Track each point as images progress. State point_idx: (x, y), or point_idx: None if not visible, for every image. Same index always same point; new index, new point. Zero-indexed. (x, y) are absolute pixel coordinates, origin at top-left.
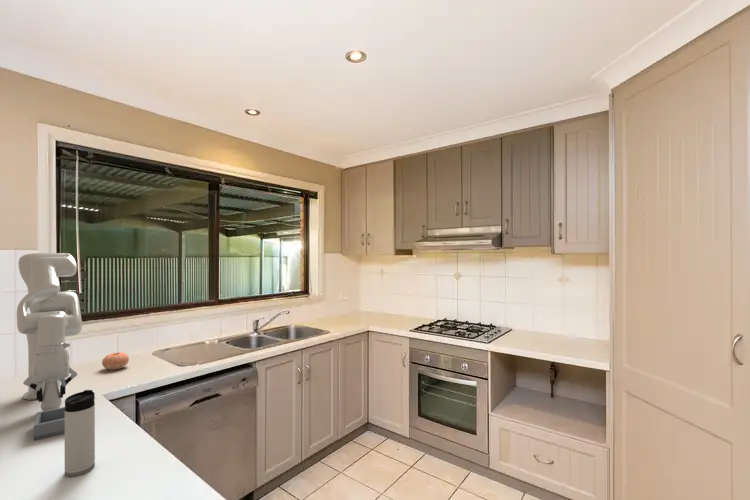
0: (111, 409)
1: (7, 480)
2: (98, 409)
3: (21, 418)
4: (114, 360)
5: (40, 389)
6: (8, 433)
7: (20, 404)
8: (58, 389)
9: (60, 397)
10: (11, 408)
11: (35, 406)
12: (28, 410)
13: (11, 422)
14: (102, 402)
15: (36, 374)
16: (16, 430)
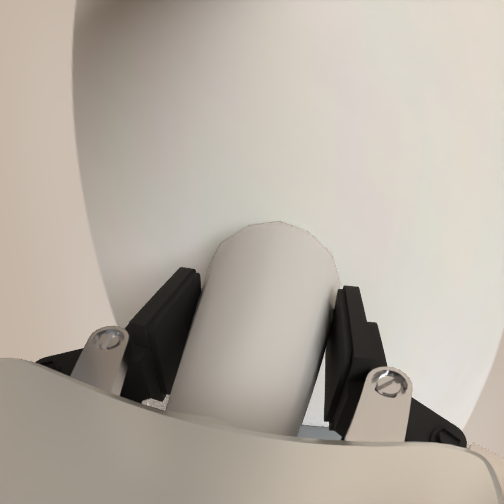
0: (464, 419)
1: None
2: (444, 400)
3: (147, 280)
4: None
5: (149, 391)
6: (150, 399)
7: (119, 11)
8: (313, 384)
9: (326, 352)
10: (86, 60)
11: (187, 95)
12: (156, 156)
13: (122, 301)
14: (498, 326)
15: None
16: (166, 396)
